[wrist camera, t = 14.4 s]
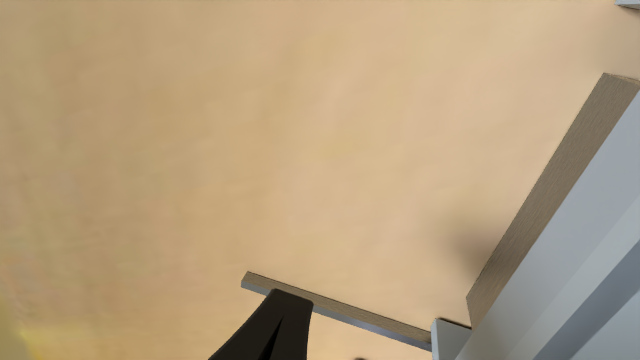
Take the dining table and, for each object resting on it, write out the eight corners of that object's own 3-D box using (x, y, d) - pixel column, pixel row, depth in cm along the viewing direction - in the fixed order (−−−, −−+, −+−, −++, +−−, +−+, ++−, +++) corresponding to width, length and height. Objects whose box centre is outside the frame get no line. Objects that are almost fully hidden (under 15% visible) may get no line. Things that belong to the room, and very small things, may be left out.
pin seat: (605, 398, 18) (636, 462, 16) (246, 278, 21) (223, 315, 19) (1094, -2, 8) (1396, -5, 6) (287, -138, 11) (249, -182, 8)
